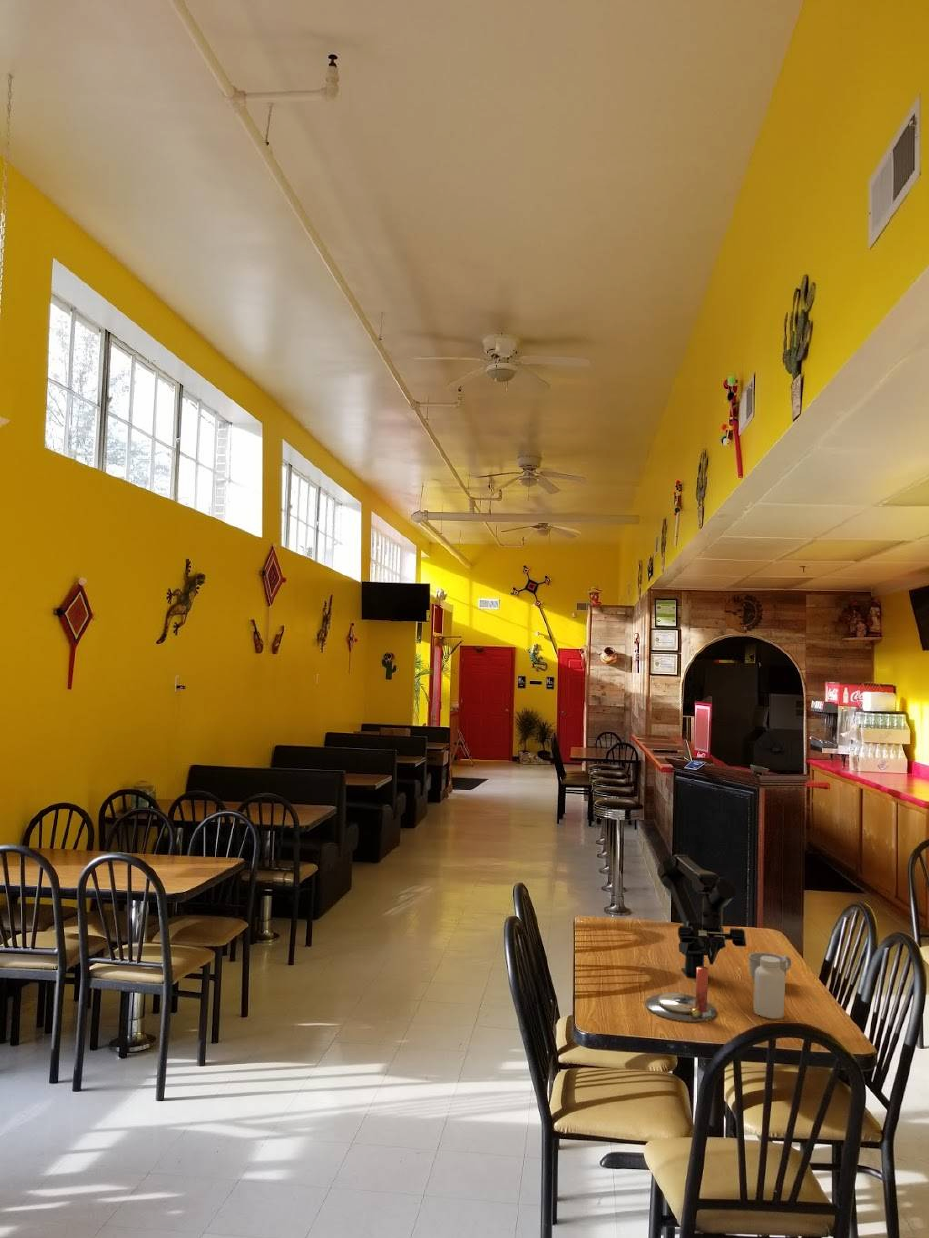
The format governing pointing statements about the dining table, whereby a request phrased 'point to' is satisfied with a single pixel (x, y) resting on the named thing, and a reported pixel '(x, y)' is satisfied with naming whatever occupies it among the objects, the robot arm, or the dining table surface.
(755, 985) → the pill bottle
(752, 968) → the teacup
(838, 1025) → the dining table surface
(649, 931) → the dining table surface
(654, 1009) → the post plate
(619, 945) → the dining table surface
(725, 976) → the dining table surface
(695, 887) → the robot arm
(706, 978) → the flange
